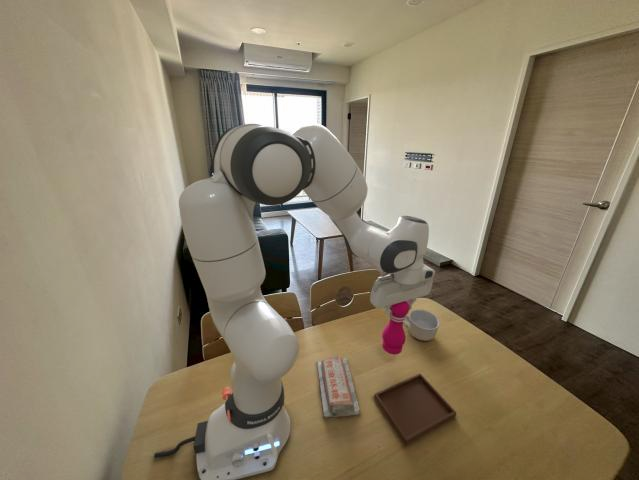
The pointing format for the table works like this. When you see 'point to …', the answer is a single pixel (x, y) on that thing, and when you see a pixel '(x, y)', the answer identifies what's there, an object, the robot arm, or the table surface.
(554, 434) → the table surface
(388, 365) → the table surface
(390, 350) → the pepper mill
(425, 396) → the tray
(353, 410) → the packaged product
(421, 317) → the teacup
